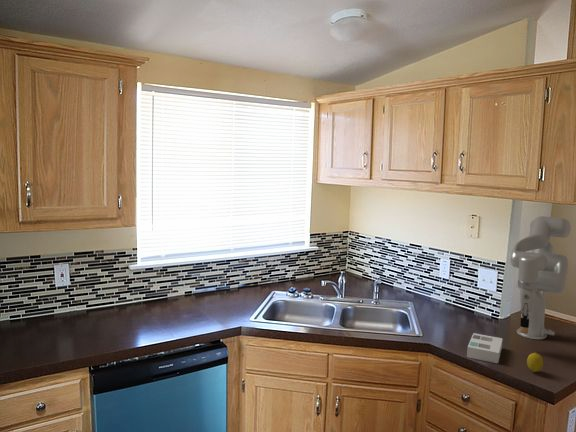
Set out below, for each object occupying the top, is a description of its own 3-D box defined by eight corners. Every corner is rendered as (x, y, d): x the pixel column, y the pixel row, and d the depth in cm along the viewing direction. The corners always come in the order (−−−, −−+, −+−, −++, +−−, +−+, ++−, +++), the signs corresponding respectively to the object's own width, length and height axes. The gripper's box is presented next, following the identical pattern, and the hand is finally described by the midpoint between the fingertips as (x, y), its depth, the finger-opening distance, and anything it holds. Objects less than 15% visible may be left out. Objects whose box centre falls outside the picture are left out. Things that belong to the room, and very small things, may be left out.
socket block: (501, 348, 201) (502, 338, 200) (498, 363, 185) (498, 352, 185) (472, 342, 207) (473, 332, 206) (466, 357, 191) (467, 346, 191)
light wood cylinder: (528, 331, 199) (529, 312, 198) (528, 334, 197) (529, 314, 195) (520, 330, 201) (521, 310, 200) (519, 332, 198) (521, 313, 197)
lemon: (523, 368, 181) (525, 349, 180) (538, 369, 181) (540, 350, 180) (529, 375, 176) (531, 355, 175) (544, 375, 175) (546, 356, 174)
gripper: (537, 291, 187) (533, 333, 189) (537, 281, 201) (534, 320, 204) (516, 288, 190) (513, 330, 193) (518, 278, 204) (516, 317, 207)
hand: (524, 325), depth 198 cm, fingers closed on light wood cylinder, 3 cm apart
